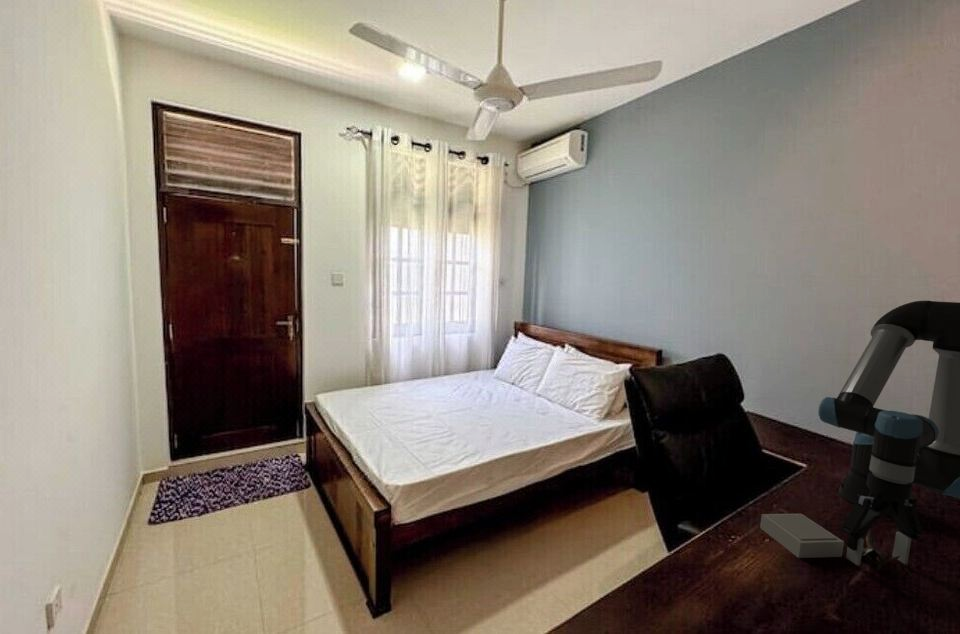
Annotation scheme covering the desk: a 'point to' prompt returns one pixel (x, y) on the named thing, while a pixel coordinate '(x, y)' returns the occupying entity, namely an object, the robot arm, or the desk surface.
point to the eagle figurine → (875, 553)
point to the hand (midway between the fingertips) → (876, 560)
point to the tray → (801, 535)
